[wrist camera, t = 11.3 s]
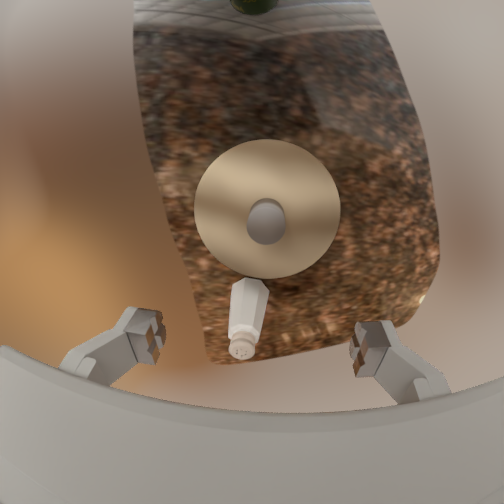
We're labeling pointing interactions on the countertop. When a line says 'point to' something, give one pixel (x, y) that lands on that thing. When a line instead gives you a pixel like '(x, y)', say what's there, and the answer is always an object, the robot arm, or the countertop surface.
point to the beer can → (253, 6)
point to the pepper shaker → (246, 316)
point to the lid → (267, 209)
